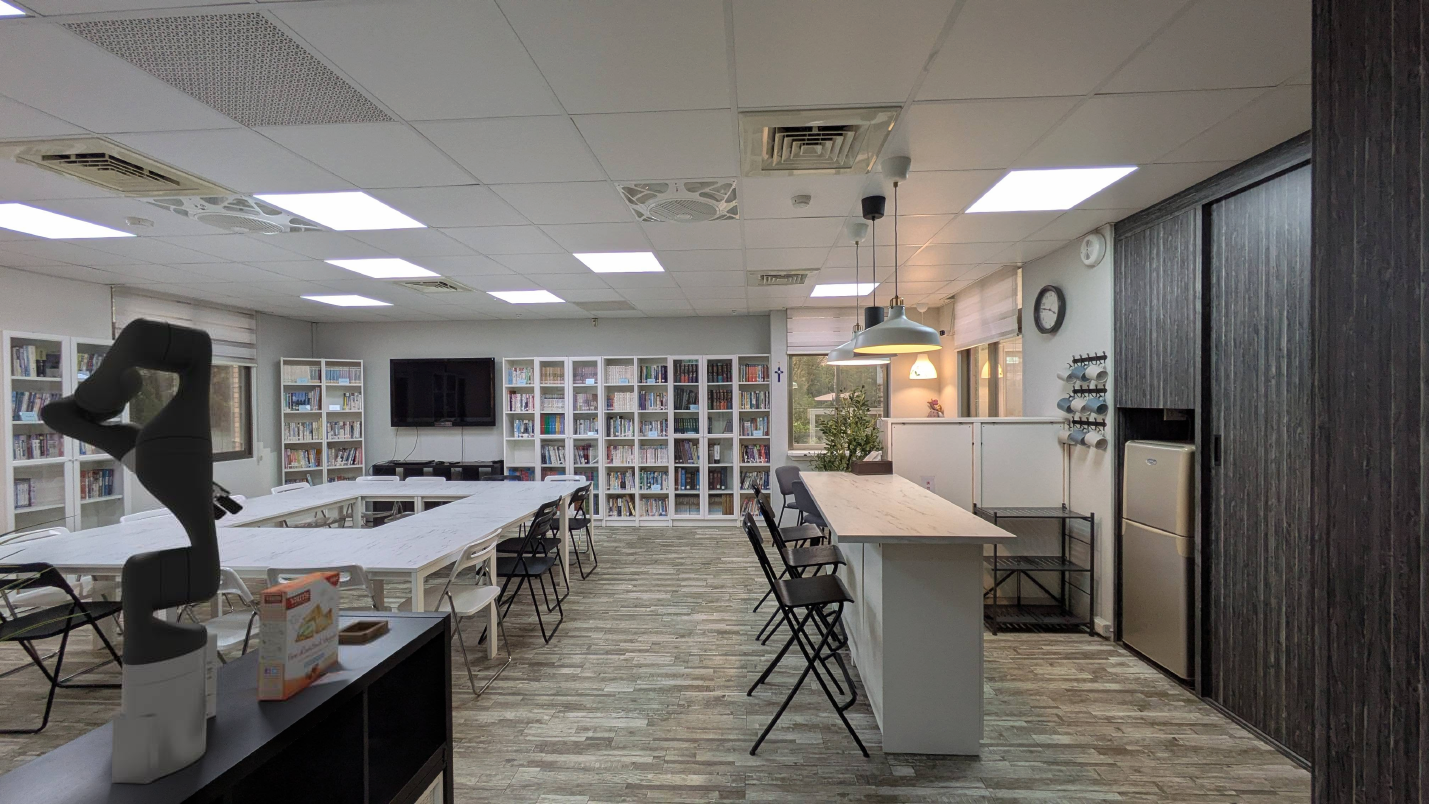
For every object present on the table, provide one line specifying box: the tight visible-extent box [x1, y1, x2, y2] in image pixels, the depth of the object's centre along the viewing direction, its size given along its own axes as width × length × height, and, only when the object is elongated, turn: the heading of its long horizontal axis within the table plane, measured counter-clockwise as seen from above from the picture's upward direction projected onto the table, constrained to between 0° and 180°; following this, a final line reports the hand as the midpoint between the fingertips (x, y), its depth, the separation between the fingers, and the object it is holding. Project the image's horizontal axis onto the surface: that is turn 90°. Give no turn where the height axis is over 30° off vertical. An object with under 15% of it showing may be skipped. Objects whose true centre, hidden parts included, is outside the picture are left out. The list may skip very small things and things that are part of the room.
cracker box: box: [256, 571, 341, 701], centre depth 106 cm, size 14×6×21 cm, turn 179°
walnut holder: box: [338, 619, 393, 645], centre depth 126 cm, size 10×10×4 cm
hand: (231, 514), depth 113 cm, fingers open, 8 cm apart
